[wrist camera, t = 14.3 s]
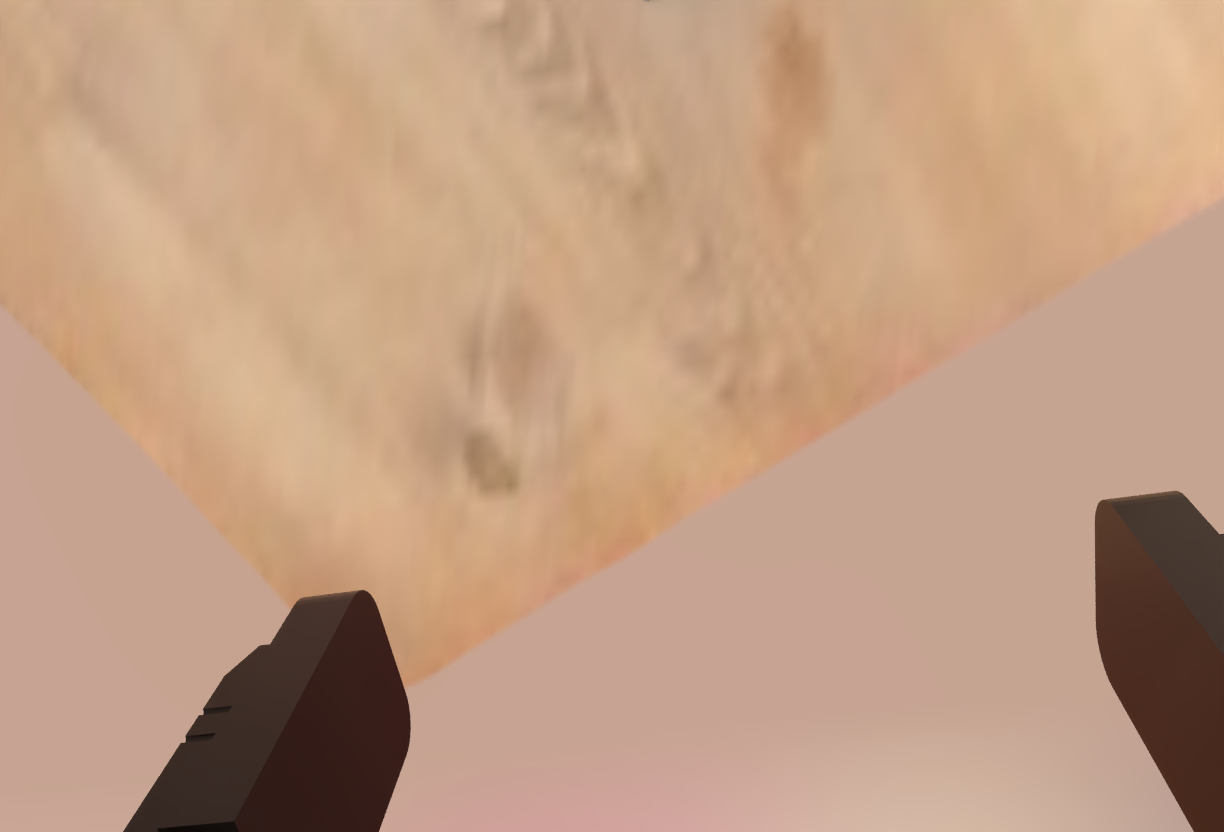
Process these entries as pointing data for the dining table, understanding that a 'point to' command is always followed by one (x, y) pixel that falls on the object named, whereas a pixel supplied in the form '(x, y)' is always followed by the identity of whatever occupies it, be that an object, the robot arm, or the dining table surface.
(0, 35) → the dining table surface
